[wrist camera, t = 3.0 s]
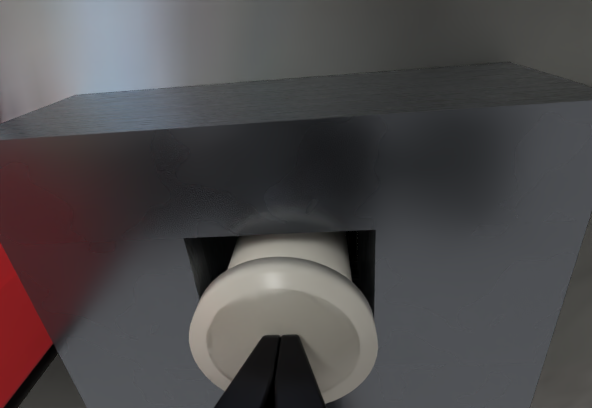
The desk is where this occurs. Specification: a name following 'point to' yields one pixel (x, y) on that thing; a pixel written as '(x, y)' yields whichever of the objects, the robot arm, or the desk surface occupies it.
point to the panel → (307, 221)
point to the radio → (19, 339)
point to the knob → (287, 310)
